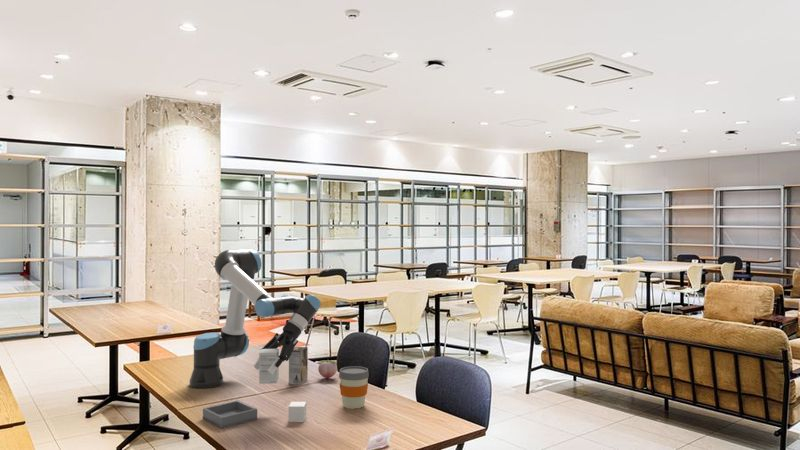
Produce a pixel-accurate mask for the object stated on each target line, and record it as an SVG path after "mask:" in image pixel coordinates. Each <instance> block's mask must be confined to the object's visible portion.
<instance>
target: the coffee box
mask: <svg viewBox="0 0 800 450" xmlns="http://www.w3.org/2000/svg"><path fill="white" fill-rule="evenodd" d="M308 350H309V349H308V346H295V347H294V349H293V351H292V353H291V355H290V358H289V360H288V384H289V385H302V384H303V383H305V382H306V381H308V369H309V368H308V365H309V364H308V362H309V361H308V357H309V355H308V354H309V352H308Z"/></svg>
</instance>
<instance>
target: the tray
mask: <svg viewBox="0 0 800 450" xmlns="http://www.w3.org/2000/svg"><path fill="white" fill-rule="evenodd" d="M202 419H203V420H204V421H206V422H208V423H210V424H212V425H214V426H216V427H218V428H219V429H225V428H229V427H233V426H237V425H241V424H244V423H248V422H253V421H256V420H258V408H256V407H253V406H252V405H249V404H247V403H244V402H242V401H240V400H234V401H230V402H226V403H225V402H224V403H221V404H217V405H212V406H207V407H203V408H202Z"/></svg>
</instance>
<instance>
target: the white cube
mask: <svg viewBox="0 0 800 450" xmlns="http://www.w3.org/2000/svg"><path fill="white" fill-rule="evenodd" d="M306 418H307V401H290V403H289V406H288V423H304V422H305V421H306Z"/></svg>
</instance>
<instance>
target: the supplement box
mask: <svg viewBox="0 0 800 450" xmlns="http://www.w3.org/2000/svg"><path fill="white" fill-rule="evenodd" d="M279 352H280V349H279V348H276V349H262V348H261V349H260V351H259V352H258V354H259V355H258V358H259V370H258V378H259V379H258V381H259V382H258V383H259V385H264V384H266V385H269V384H278V381H279V379H280V366H279V367H278V368H277V370H276V371H275V372H274V374H273V375H271V374H270V373H269V372H268V369H269V368H270V367H271V365H272V364H273V363H274V361H275V360H276V358H279V357H278V356H280V353H279Z"/></svg>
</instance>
